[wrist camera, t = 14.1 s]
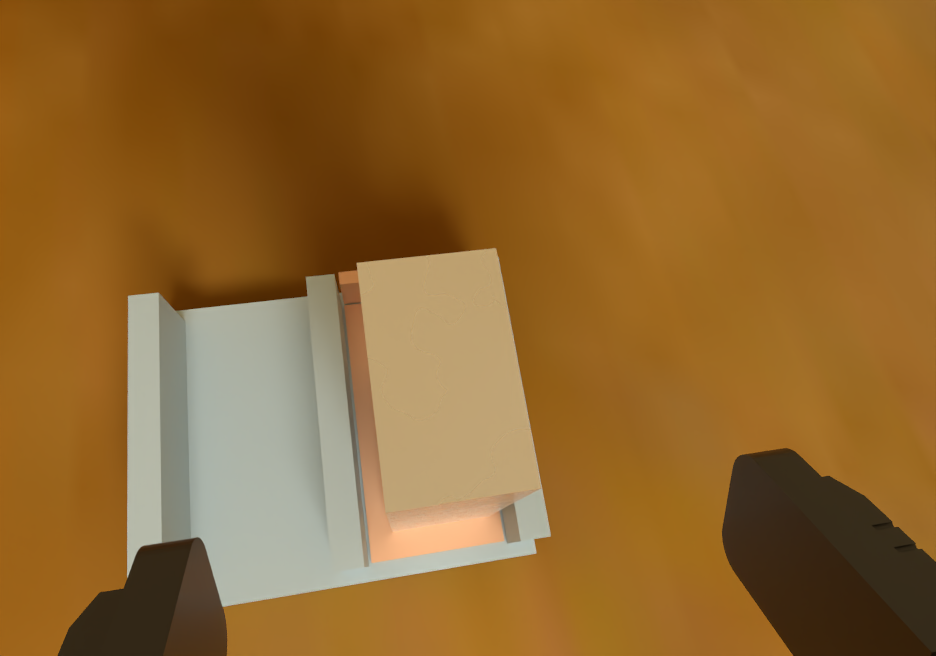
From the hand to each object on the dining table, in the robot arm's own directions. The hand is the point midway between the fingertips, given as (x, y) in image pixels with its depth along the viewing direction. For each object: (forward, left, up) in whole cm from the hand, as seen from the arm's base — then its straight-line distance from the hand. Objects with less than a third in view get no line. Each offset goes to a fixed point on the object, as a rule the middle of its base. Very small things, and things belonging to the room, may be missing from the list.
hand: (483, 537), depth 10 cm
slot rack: (-5, +3, -16) cm, 17 cm away
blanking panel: (-2, +4, -15) cm, 15 cm away
